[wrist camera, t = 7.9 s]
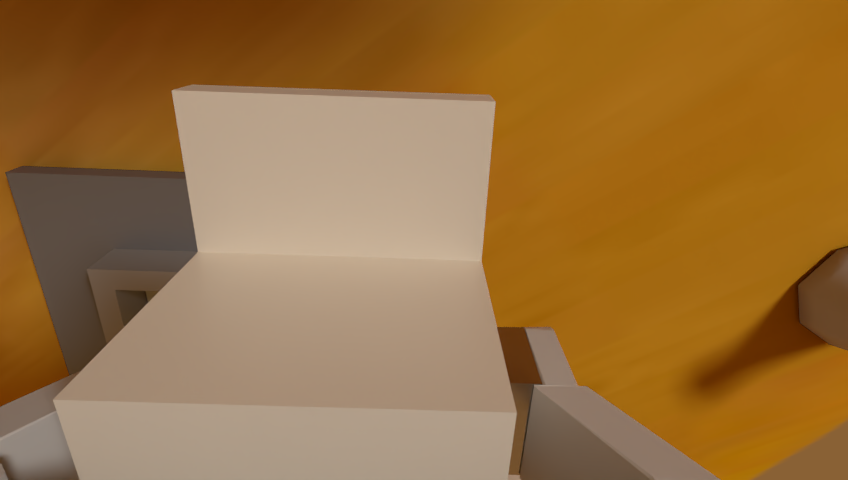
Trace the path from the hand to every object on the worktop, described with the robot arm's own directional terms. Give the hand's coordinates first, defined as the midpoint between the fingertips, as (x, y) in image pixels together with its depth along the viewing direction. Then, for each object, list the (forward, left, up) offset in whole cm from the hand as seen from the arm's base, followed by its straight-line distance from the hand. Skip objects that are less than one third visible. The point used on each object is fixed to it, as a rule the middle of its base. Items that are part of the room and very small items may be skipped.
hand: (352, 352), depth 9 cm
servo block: (0, 0, -2) cm, 2 cm away
